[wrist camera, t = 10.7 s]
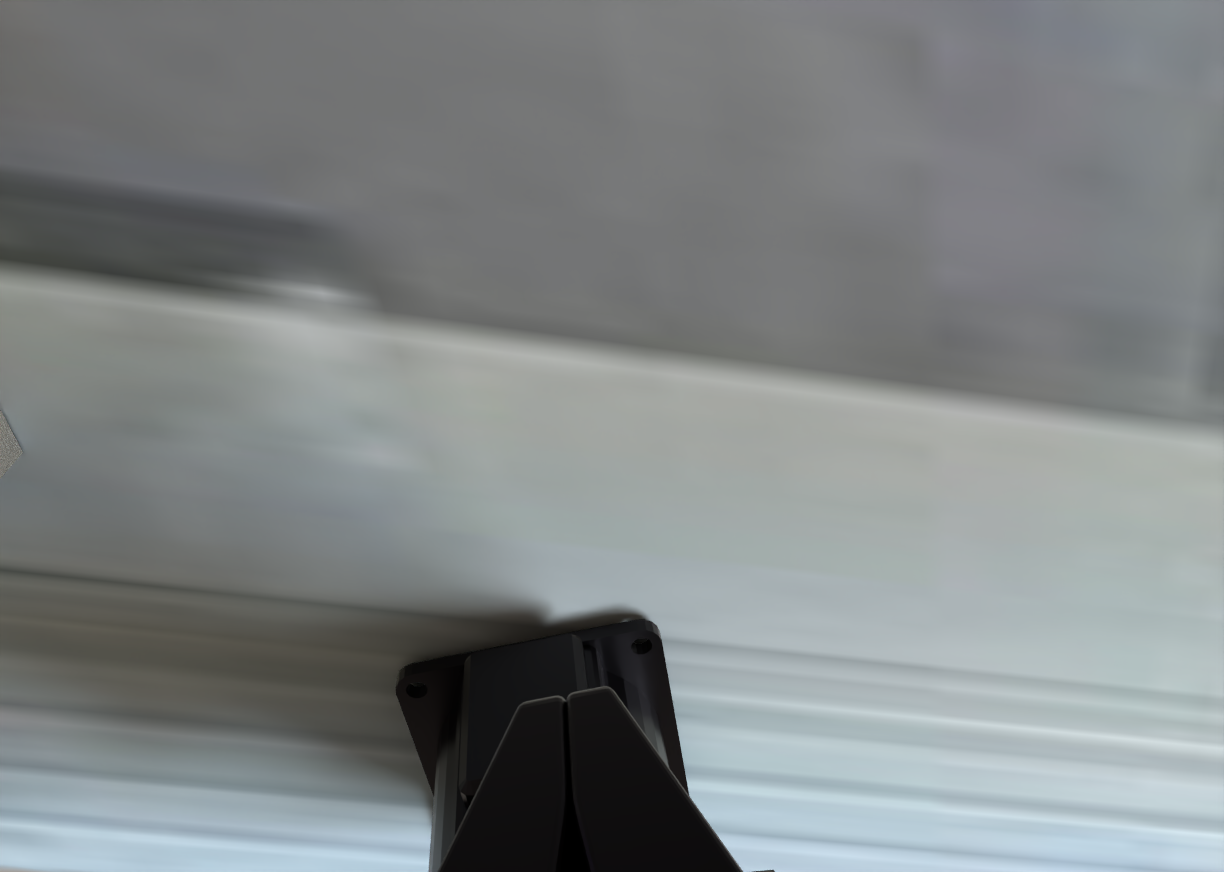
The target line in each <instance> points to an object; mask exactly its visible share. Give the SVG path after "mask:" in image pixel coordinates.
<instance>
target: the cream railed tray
mask: <svg viewBox="0 0 1224 872" xmlns="http://www.w3.org/2000/svg"><path fill="white" fill-rule="evenodd" d="M22 453H23V451H22V449H21V447H20V446H19V444H18V442H17V440H16V438H15V436H14V434H13V432H12V431H11V429H10V427H9V425H8V423H7V421H6V419H5V417H4V416H3V414H2V412H1V410H0V478H1V477H2V476H3V475H4V474H5V472H6V471H7V470H8V469H9V468H10V467H11V466H12V465H13V463H14V462H15V461H16V460H17V459H18V458H19V457H20V455H21V454H22Z"/></svg>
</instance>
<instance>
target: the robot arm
mask: <svg viewBox="0 0 1224 872" xmlns="http://www.w3.org/2000/svg"><path fill="white" fill-rule="evenodd" d="M639 638H646V639H648V640H647V641H646V642H643V643H634V641H635V640H637V639H639ZM413 682H420V683H423V684H425V685H423V686H413V685H411V683H413ZM396 695H397V697H398V700H399V703H400V706H401V708H402V711H403V714H404V716H405V719H406V722H407V725H408V727H409V730H410V733H411V736H412V738H413V741H414V744H415V746H416V749H417V752H418V755H419V757H420V760H421V763H422V766H423V768H424V771H425V774H426V776H427V779H428V782H429V785H430V787H431V790H432V793H433V796H434V804H433V817H432V831H431V844H430V858H429V872H743V871H742V870H741V868H740V867H739V865H738V864H737V863H736V861H735V860H734V858H733V857H732V856H731V854H730V853H729V851H728V850H727V848H726V847H725V846H724V844H723V843H722V841H721V840H720V839H719V837H718V836H717V834H716V833H715V832H714V830H713V829H712V827H711V826H710V825H709V823H708V822H707V820H706V819H705V818H704V816H703V815H702V813H701V812H700V811H699V809H698V808H697V806H696V805H695V804H694V802H693V801H692V799H691V798H690V797H689V792H688V786H687V781H686V775H685V769H684V764H683V758H682V753H681V747H680V741H679V736H678V730H677V724H676V719H675V713H674V707H673V702H672V696H671V690H670V685H669V679H668V674H667V668H666V662H665V657H664V651H663V645H662V640H661V636H660V631H659V629H658V627H657V626H656V625H655V624H654V623H653V622H651V621H648V620H645V619H644V620H633V621H628V622H623V623H617V624H612V625H607V626H602V627H597V628H592V629H587V630H581V631H576V632H571V633H566V634H561V635H556V636H551V637H546V638H540V639H535V640H530V641H525V642H520V643H515V644H510V645H504V646H499V647H494V648H489V649H484V650H479V651H474V652H469V653H463V654H458V655H453V656H448V657H443V658H438V659H433V660H427V661H422V662H417V663H412V664H410V665H407V666H405V667H404V668H402V669H401V670H400V672H399V674H398V676H397V683H396ZM754 872H775V871H774V870H766V871H754Z"/></svg>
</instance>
